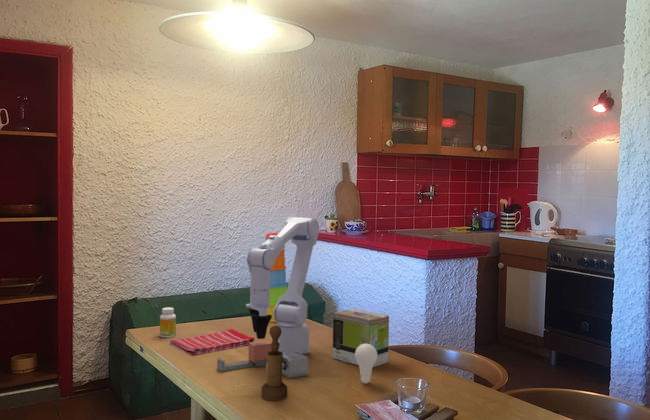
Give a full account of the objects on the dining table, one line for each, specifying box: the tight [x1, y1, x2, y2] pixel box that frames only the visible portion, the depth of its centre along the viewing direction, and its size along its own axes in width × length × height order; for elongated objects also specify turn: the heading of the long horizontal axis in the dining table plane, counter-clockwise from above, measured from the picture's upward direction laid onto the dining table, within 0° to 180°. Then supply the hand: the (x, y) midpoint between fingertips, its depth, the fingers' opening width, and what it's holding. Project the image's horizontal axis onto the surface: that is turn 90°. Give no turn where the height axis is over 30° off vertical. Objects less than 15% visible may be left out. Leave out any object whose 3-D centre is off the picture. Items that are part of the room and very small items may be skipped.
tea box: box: [332, 308, 390, 369], centre depth 175 cm, size 15×10×15 cm, turn 47°
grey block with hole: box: [282, 352, 309, 379], centre depth 161 cm, size 6×6×5 cm
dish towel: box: [169, 328, 255, 356], centre depth 190 cm, size 17×24×3 cm
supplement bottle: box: [159, 306, 177, 339], centre depth 198 cm, size 5×5×10 cm
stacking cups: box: [265, 232, 288, 323], centre depth 225 cm, size 10×10×35 cm
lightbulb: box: [355, 344, 377, 385], centre depth 154 cm, size 6×6×11 cm
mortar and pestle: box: [260, 325, 288, 401], centre depth 144 cm, size 7×6×18 cm
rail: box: [217, 357, 255, 373], centre depth 167 cm, size 18×3×3 cm, turn 120°
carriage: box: [248, 339, 272, 367], centre depth 169 cm, size 6×4×6 cm
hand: (259, 335), depth 166 cm, fingers open, 7 cm apart
